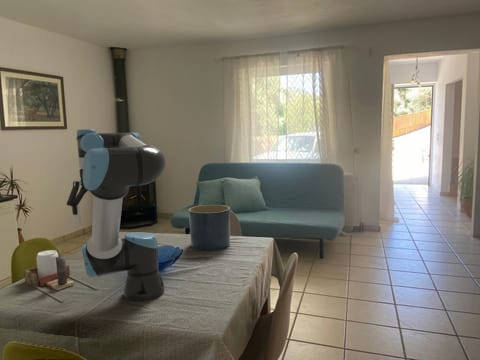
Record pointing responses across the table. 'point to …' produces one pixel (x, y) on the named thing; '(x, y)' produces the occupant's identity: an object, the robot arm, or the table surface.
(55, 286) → the rod slider
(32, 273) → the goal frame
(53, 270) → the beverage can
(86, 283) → the pitch lines
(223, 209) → the planter
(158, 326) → the table surface
